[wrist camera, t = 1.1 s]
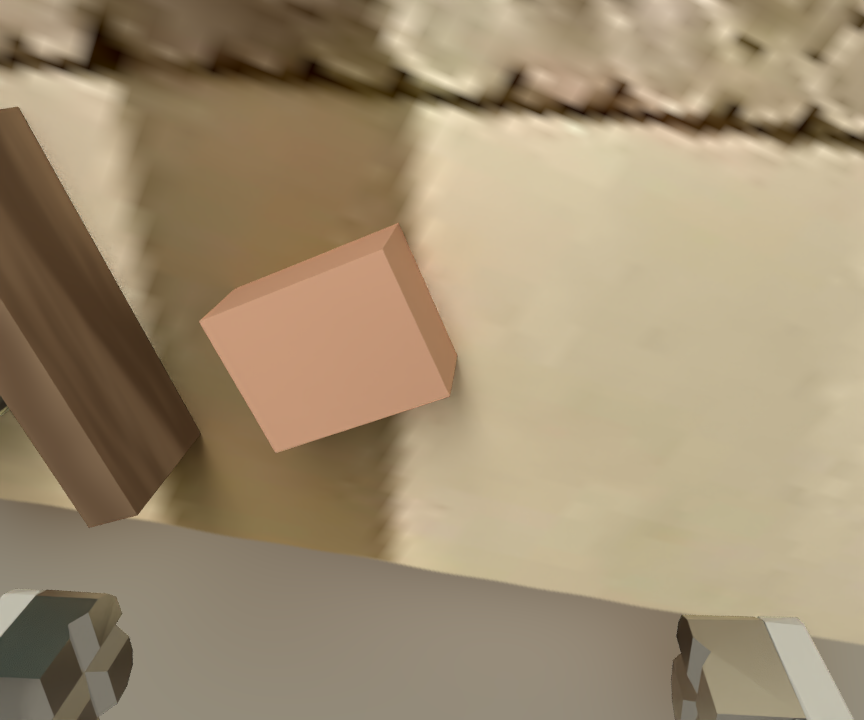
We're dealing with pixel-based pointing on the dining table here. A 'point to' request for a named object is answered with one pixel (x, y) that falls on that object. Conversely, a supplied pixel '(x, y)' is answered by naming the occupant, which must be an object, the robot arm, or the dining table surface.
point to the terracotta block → (334, 341)
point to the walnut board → (77, 348)
